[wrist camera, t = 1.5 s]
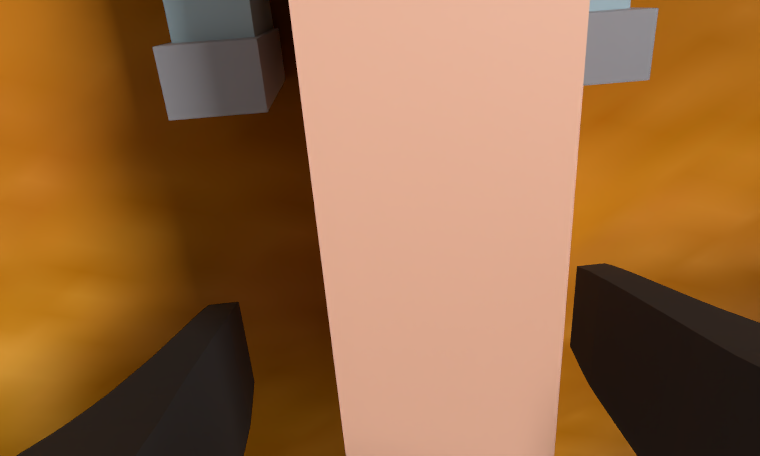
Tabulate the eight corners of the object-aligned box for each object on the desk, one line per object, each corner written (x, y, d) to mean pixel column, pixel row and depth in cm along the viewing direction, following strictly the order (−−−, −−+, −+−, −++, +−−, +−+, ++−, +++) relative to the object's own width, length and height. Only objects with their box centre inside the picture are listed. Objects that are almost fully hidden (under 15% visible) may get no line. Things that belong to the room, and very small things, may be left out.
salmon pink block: (454, -231, 9) (634, -561, 4) (460, 338, 14) (545, 553, 9) (284, -222, 9) (219, -554, 4) (347, 351, 14) (361, 578, 8)
